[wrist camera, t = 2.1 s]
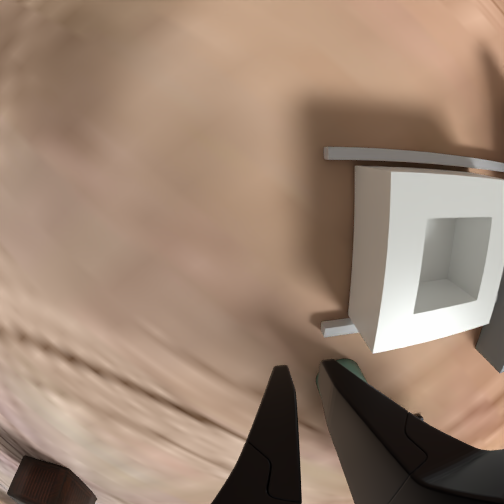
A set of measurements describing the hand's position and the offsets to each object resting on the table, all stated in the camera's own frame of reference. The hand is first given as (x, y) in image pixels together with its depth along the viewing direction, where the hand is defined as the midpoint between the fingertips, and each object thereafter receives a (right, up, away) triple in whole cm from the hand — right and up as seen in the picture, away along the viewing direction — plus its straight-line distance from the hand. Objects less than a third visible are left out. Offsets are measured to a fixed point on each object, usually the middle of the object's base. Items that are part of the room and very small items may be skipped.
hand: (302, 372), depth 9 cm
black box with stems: (-31, -33, +22) cm, 50 cm away
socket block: (+11, +5, +12) cm, 17 cm away
